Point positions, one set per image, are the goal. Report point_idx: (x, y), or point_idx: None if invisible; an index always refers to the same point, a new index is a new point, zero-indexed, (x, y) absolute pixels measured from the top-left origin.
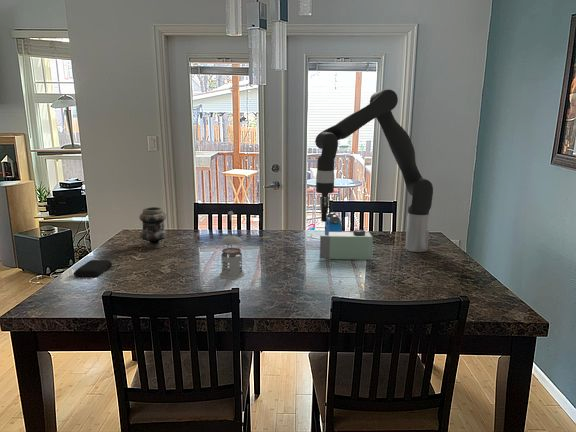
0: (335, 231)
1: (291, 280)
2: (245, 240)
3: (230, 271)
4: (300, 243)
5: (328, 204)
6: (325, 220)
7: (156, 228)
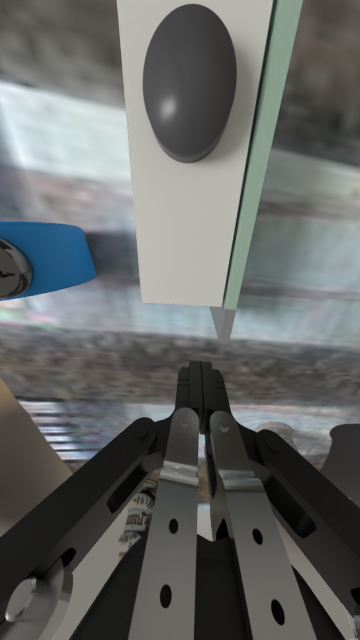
0: (70, 258)
1: (334, 369)
2: (96, 419)
3: (293, 446)
4: (86, 338)
5: (288, 563)
6: (218, 371)
7: (150, 521)
